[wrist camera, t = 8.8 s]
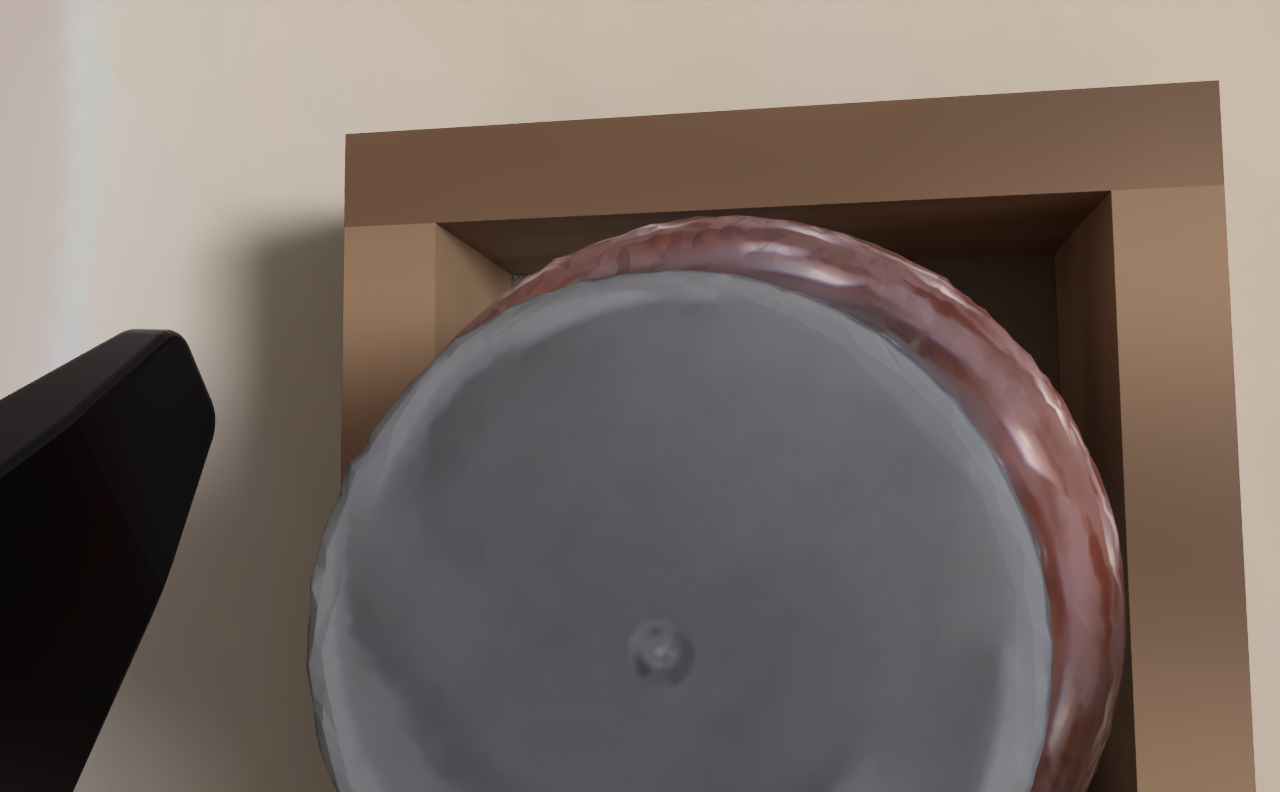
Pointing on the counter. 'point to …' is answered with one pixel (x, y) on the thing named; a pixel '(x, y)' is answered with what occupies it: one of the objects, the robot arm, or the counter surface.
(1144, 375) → the socket collar
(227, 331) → the counter surface
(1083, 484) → the supplement bottle
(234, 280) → the counter surface
